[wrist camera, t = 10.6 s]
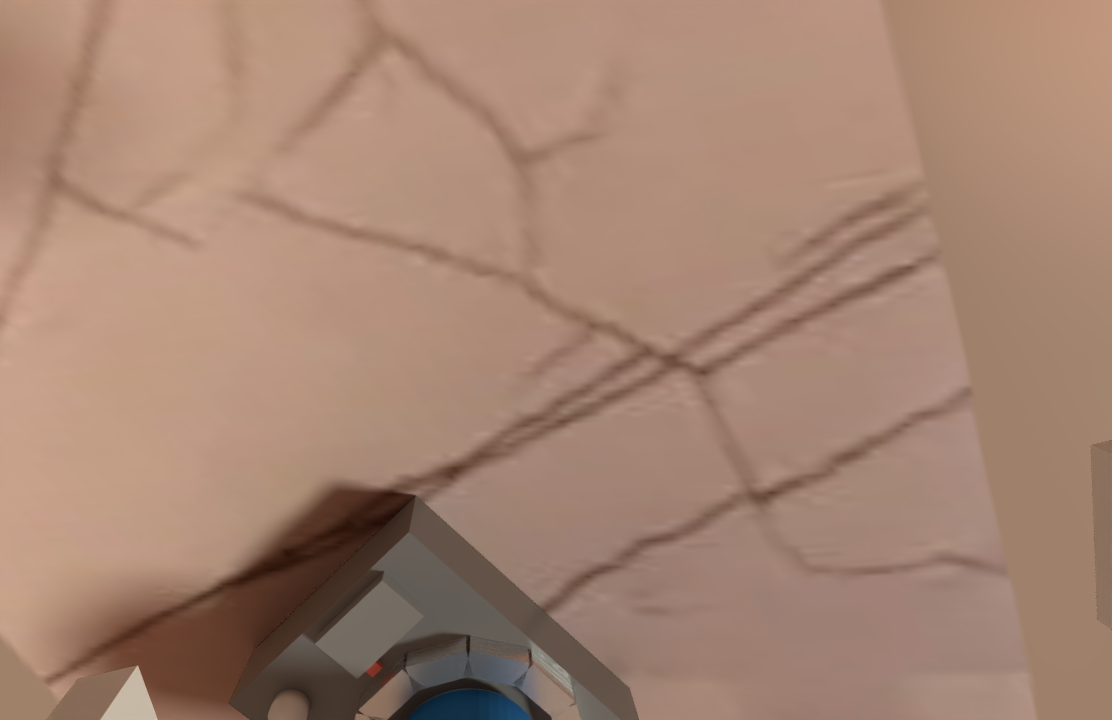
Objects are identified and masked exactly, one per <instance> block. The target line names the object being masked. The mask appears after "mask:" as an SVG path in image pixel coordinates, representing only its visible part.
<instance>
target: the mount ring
mask: <svg viewBox="0 0 1112 720" xmlns="http://www.w3.org/2000/svg"><path fill="white" fill-rule="evenodd" d="M466 677H471V678H476V679H481V680H486V681H491V682H496V683H501V684H506V685H511V686H516V687H518V688H519V689H520V690H521V691H522V692H523V693H525V694H526V695H527V696H528V697H529V698H530V699H532V700H533V701H534V702H535V703H536V704H537V705H539V706H540V707H541V708H542V709H543V710H544V711H546V712H547V713H548V714H549V715H550V716H551V718H552V720H582V718H581V714H580V710H579V707H578V703H577V699H576V695H575V692H574V688H572V685H571V684H570V683H569V682H568V681H567V680H566V679H565V678H564V677H562V676H561V675H560V674H559V673H558V672H557V671H556V670H554V669H553V668H552V667H551V666H550V665H549V664H548V663H547V662H545V661H544V660H543V659H542V658H541V657H540V656H539V655H537V654H536V653H535V652H534V651H533V650H532V649H531V650H530V651H529V652H528V647H524V646H519V645H514V644H510V643H505V642H500V641H495V640H490V639H486V638H481V637H476V636H471V635H470V638H469V642H468V640H467V636H462V637H459V638H455V639H451V640H448V641H444V642H440V643H437V644H433V645H429V646H425V647H422V648H418V649H414V650H411V651H408V655H406V654H405V653H404V654H403V655H402V656H401V657H400V658H399V659H398V660H397V661H396V662H394V663H393V664H392V665H391V666H390V667H389V668H388V669H387V670H386V671H385V672H384V673H383V674H382V675H381V676H379V677H378V678H377V679H376V680H375V681H374V682H373V683H372V684H371V685H370V686H369V687H368V688H367V689H366V690H364V691H363V692H362V696H360V699H359V703H358V706H357V710H356V714H355V717H354V720H387V719H388V718H389V717H391V716H392V715H393V714H394V713H395V712H396V711H397V710H398V709H399V708H400V707H401V706H402V705H403V704H405V703H406V702H407V701H408V700H409V699H410V698H411V697H412V696H413V695H414V694H415V693H416V692H418V691H419V690H422V689H425V688H429V687H433V686H436V685H440V684H444V683H447V682H451V681H455V680H458V679H462V678H466Z"/></svg>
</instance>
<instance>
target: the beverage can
mask: <svg viewBox="0 0 1112 720" xmlns="http://www.w3.org/2000/svg"><path fill="white" fill-rule="evenodd" d="M406 720H532V719H531V718H530V717H529V715H528V714H527V713H526V712H525V711H524V709H523V708H522V707H520V706H519V705H518V704H517V703H515V702H514V701H513V700H511V699H509V698H507V697H506V696H503V695H501V694H499V693H496V692H492V691H489V690H483V689H470V688H469V689H458V690H452V691H448V692H445V693H442V694H439V695H437V696H435V697H432V698H431V699H429V700H427V701H425V702H424V703H422V704H421V705H420V706H418V707H417V708H416V709H415V710H414V711H413V712H412V713H411V714H410V715H409V716H408V717H407V719H406Z"/></svg>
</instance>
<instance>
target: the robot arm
mask: <svg viewBox="0 0 1112 720" xmlns="http://www.w3.org/2000/svg"><path fill="white" fill-rule="evenodd" d="M1091 470H1092V496H1093V521H1094V548H1095V574H1096V598H1097V619H1098V620H1099V621H1100V622H1102V623H1103V624H1104V625H1106V626H1107V627H1109V628H1110V629H1111V630H1112V440H1110V441H1105V442H1101V443H1097V444H1093V445H1091ZM46 720H158V719H157V716H156V713H155V711H154V708H153V705H152V703H151V700H150V697H149V694H148V692H147V689H146V686H145V684H144V681H143V678H142V675H141V673H140V670H139V667H138V665H136V666H132V667H127V668H123V669H119V670H114V671H110V672H106V673H101V674H97V675H93V676H88V677H84V678H80V679H78V680H77V681H76V682H75V684H74V685H73V686H72V687H71V689H70V690H69V691H68V692H67V694H66V695H65V696H64V698H63V699H62V700H61V701H60V703H59V704H58V705H57V706H56V708H55V709H54V710H53V712H52V713H51V714H50V715H49V717H48V718H47V719H46Z"/></svg>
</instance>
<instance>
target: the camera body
mask: <svg viewBox="0 0 1112 720" xmlns="http://www.w3.org/2000/svg"><path fill="white" fill-rule="evenodd" d="M470 635H471V636H476V637H481V638H486V639H490V640H495V641H500V642H505V643H510V644H514V645H519V646H524V647H528V652H529V651H530V650H531V649H532V650H533V651H534V652H535V653H536V654H537V655H539V656H540V657H541V658H542V659H543V660H544V661H545V662H547V663H548V664H549V665H550V666H551V667H552V668H553V669H554V670H556V671H557V672H558V673H559V674H560V675H561V676H562V677H564V678H565V679H566V680H567V681H568V682H569V683H570V684H571V685H572V688H574V692H575V695H576V699H577V703H578V707H579V710H580V714H581V718H582V720H639V718H638V715H637V711H636V708H635V705H634V701H633V698H632V695H631V691H630V688H629V687H628V686H626V685H625V684H624V683H623V682H622V681H621V680H620V679H619V678H618V677H616V676H615V675H614V674H613V673H612V672H611V671H610V670H609V669H608V668H607V667H605V666H604V665H603V664H602V663H601V662H600V661H599V660H598V659H597V658H595V657H594V656H593V655H592V654H591V653H590V652H589V651H588V650H587V649H585V648H584V647H583V646H582V645H581V644H580V643H579V642H578V641H577V640H575V639H574V638H573V637H572V636H571V635H570V634H569V633H568V632H567V631H566V630H564V629H563V628H562V627H561V626H560V625H559V624H558V623H557V622H556V621H554V620H553V619H552V618H551V617H550V616H549V615H548V614H547V613H546V612H544V611H543V610H542V609H541V608H540V607H539V606H538V605H537V604H536V603H534V602H533V601H532V600H531V599H530V598H529V597H528V596H527V595H526V594H525V593H523V592H522V591H521V590H520V589H519V588H518V587H517V586H516V585H515V584H513V583H512V582H511V581H510V580H509V579H508V578H507V577H506V576H505V575H503V574H502V573H501V572H500V571H499V570H498V569H497V568H496V567H495V566H493V565H492V564H491V563H490V562H489V561H488V560H487V559H486V558H485V557H484V556H482V555H481V554H480V553H479V552H478V551H477V550H476V549H475V548H474V547H472V546H471V545H470V544H469V543H468V542H467V541H466V540H465V539H464V538H462V537H461V536H460V535H459V534H458V533H457V532H456V531H455V530H454V529H452V528H451V527H450V526H449V525H448V524H447V523H446V522H445V521H444V520H443V519H441V518H440V517H439V516H438V515H437V514H436V513H435V512H434V511H433V510H431V509H430V508H429V507H428V506H427V505H426V504H425V503H424V502H423V501H421V500H420V499H419V498H418V497H417V496H415V497H414V498H413V499H412V500H411V501H410V502H409V503H408V504H407V505H406V506H404V507H403V508H402V509H401V510H400V511H399V512H398V513H397V514H396V515H395V516H394V517H393V518H392V519H391V520H390V521H389V522H388V523H387V524H386V525H385V526H384V527H382V528H381V529H380V530H379V531H378V532H377V533H376V534H375V535H374V536H373V537H372V538H371V539H370V540H369V541H368V542H367V543H366V544H365V545H364V546H363V547H362V548H360V549H359V550H358V551H357V552H356V553H355V554H354V555H353V556H352V557H351V558H350V559H349V560H348V561H347V562H346V563H345V564H344V565H343V566H342V567H341V568H340V569H338V570H337V571H336V572H335V573H334V574H333V575H332V576H331V577H330V578H329V579H328V580H327V581H326V582H325V583H324V584H323V585H322V586H321V587H320V588H319V589H318V590H316V591H315V592H314V593H313V594H312V595H311V596H310V597H309V598H308V599H307V600H306V601H305V602H304V603H303V604H302V605H301V606H300V607H299V608H298V609H297V610H296V611H294V612H293V613H292V614H291V615H290V616H289V617H288V618H287V619H286V620H285V621H284V622H283V623H282V624H281V625H280V626H279V627H278V628H277V629H276V630H275V631H274V632H272V633H271V634H270V635H269V636H268V637H267V638H266V639H265V640H264V641H263V642H262V643H261V644H260V645H259V646H258V647H257V648H256V649H255V650H254V651H253V653H252V655H251V657H250V659H249V661H248V663H247V666H246V668H245V670H244V672H243V674H242V676H241V678H240V680H239V683H238V685H237V687H236V689H235V691H234V693H233V695H232V697H231V699H230V702H229V704H230V705H232V706H233V707H234V708H235V709H237V710H238V711H239V712H241V713H242V714H243V715H245V716H246V717H247V718H248V719H250V720H354V717H355V714H356V710H357V706H358V703H359V699H360V696H362V692H363V691H364V690H366V689H367V688H368V687H369V686H370V685H371V684H372V683H373V682H374V681H375V680H376V679H377V678H378V677H379V676H381V675H382V674H383V673H384V672H385V671H386V670H387V669H388V668H389V667H390V666H391V665H392V664H393V663H394V662H396V661H397V660H398V659H399V658H400V657H401V656H402V655H403V654H404V653H405V654H406V655H408V651H411V650H414V649H418V648H422V647H425V646H429V645H433V644H437V643H440V642H444V641H448V640H451V639H455V638H459V637H462V636H467V640H468V642H469V638H470ZM469 688H470V689H483V690H489V691H492V692H496V693H499V694H501V695H503V696H506V697H507V698H509V699H511V700H513V701H514V702H515V703H517V704H518V705H519V706H520V707H522V708H523V709H524V711H525V712H526V713H527V714H528V715H529V717H530V718H531V719H532V720H552V718H551V716H550V715H549V714H548V713H547V712H546V711H544V710H543V709H542V708H541V707H540V706H539V705H537V704H536V703H535V702H534V701H533V700H532V699H530V698H529V697H528V696H527V695H526V694H525V693H523V692H522V691H521V690H520V689H519V688H518V687H516V686H511V685H506V684H501V683H496V682H491V681H486V680H481V679H476V678H471V677H466V678H462V679H458V680H455V681H451V682H447V683H444V684H440V685H436V686H433V687H429V688H425V689H422V690H419V691H418V692H416V693H415V694H414V695H413V696H412V697H411V698H410V699H409V700H408V701H407V702H406V703H405V704H403V705H402V706H401V707H400V708H399V709H398V710H397V711H396V712H395V713H394V714H393V715H392V716H391V717H389V718H388V719H387V720H406V719H407V717H408V716H409V715H410V714H411V713H412V712H413V711H414V710H415V709H416V708H417V707H418V706H420V705H421V704H422V703H424V702H425V701H427V700H429V699H431V698H432V697H435V696H437V695H439V694H442V693H445V692H448V691H452V690H458V689H469Z"/></svg>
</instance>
